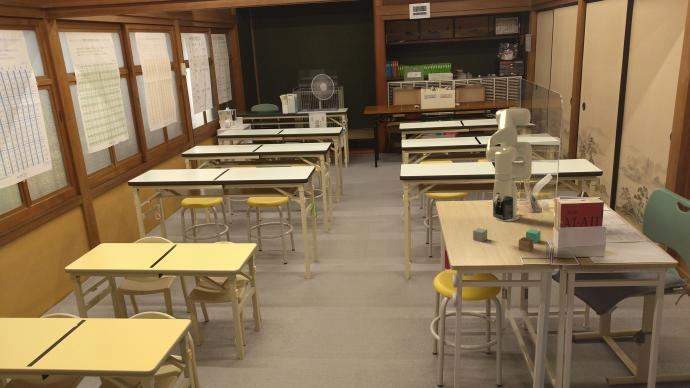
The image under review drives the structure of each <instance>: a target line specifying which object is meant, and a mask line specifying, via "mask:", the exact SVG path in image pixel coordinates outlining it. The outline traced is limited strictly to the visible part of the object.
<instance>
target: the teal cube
mask: <svg viewBox="0 0 690 388" xmlns="http://www.w3.org/2000/svg"><path fill="white" fill-rule="evenodd" d="M525 237H526V238H531V239H534V244H537V243H539V242H540V241H541V230H538V229H533V228H530V229H528V230H527V231H526V232H525Z"/></svg>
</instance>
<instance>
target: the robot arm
mask: <svg viewBox="0 0 690 388" xmlns="http://www.w3.org/2000/svg"><path fill="white" fill-rule="evenodd" d="M531 116H532V115H531V112H530V110H529V109H528V108H523V107H522V108H521V107H520V108H504V109H503V108H502V109H498V111H496V112H495V121H496V124H497V126H498V127H497V131H496V132H495V133H493V134H491V136H490V137H489V138H488V141H487V144H486V148H485V149H486V150H485V159H486V161H488V162H489V163H494V184H493V193H492V194H493V195H492V201H493V200H494V203H495V207H496V214H497V215H502V202H503V200H504V199H505V198H507V197H512V198H513V219H509V220H505V221H504V220H501V219H498V218H496V217H495V218H496V219H497V220H498V221H501V222H515V221H518V220H519V219H520V215H519V214H517V213H518V211H519V210H520V208H519V207H518V206H517V205H518V203H517V202H518V188H517V187H518V186H517V185H516V183H515V182H514V181H528V180H530V179H531V177H532V170H533V169H532V167H533V165H532V164H533V160H532V158H533V148H532V145H531V143H530V142H529V141H519V140H518V130H517V127H516V126H528V125H529V124H530V122H531ZM499 144H500V146H497V145H499ZM516 160H521V162H520V161H516ZM498 199H501V201H500V200H498ZM498 202H500V204H499V203H498Z"/></svg>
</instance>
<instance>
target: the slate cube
mask: <svg viewBox="0 0 690 388" xmlns="http://www.w3.org/2000/svg"><path fill="white" fill-rule="evenodd" d="M472 240H473V241H476V242H481V243H482V242H485V241H486V240H488V229H485V228H480V227H477V228H475V229H473V230H472Z"/></svg>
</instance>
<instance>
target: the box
mask: <svg viewBox="0 0 690 388" xmlns="http://www.w3.org/2000/svg"><path fill="white" fill-rule="evenodd" d="M498 200H500V201H501V199H498ZM498 203H499V204H500V202H498ZM492 216H493V218H498V219H501V220H504V221H503V222H506V221H505V220H509V219H513V198H512V197H507V198H505V199H504V200H503V202H502V215H497V214H496V207H495V203H494V200H493V199H492ZM498 219H497V220H498ZM501 220H500V221H501Z"/></svg>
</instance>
